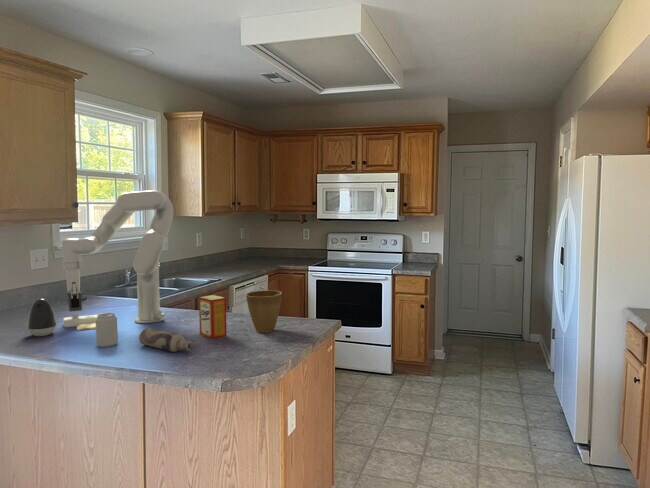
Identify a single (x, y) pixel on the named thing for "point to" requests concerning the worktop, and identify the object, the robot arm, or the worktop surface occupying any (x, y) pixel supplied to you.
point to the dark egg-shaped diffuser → (41, 318)
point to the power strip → (79, 320)
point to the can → (106, 330)
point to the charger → (79, 302)
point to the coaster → (86, 326)
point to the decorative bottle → (164, 340)
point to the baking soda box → (212, 316)
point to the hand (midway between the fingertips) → (75, 306)
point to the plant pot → (264, 309)
